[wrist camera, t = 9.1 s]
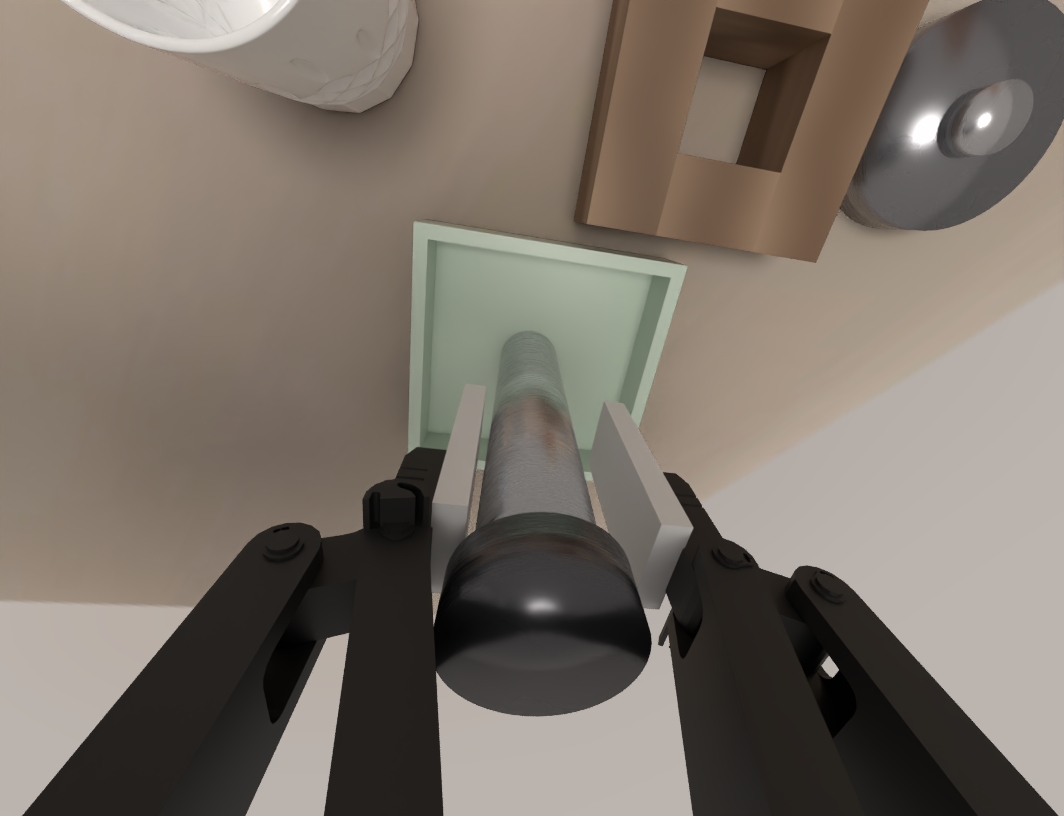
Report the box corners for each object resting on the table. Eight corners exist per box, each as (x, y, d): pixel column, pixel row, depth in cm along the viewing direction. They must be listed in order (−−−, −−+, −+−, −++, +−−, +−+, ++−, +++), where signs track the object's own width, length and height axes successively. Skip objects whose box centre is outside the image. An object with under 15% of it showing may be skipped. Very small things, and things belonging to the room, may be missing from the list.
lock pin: (488, 386, 23) (425, 709, 8) (496, 316, 21) (436, 563, 6) (558, 395, 23) (620, 722, 8) (571, 327, 22) (680, 585, 7)
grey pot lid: (798, 214, 20) (853, 215, 17) (883, 0, 17) (971, -49, 14) (942, 239, 21) (1020, 245, 18) (1050, 41, 18) (1171, 4, 14)
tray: (419, 434, 25) (407, 462, 22) (427, 219, 20) (413, 221, 17) (610, 455, 26) (621, 484, 23) (665, 258, 21) (687, 266, 18)
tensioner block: (573, 220, 20) (586, 223, 16) (624, -63, 16) (657, -144, 12) (764, 253, 21) (815, 262, 17) (861, -5, 17) (956, -64, 13)
